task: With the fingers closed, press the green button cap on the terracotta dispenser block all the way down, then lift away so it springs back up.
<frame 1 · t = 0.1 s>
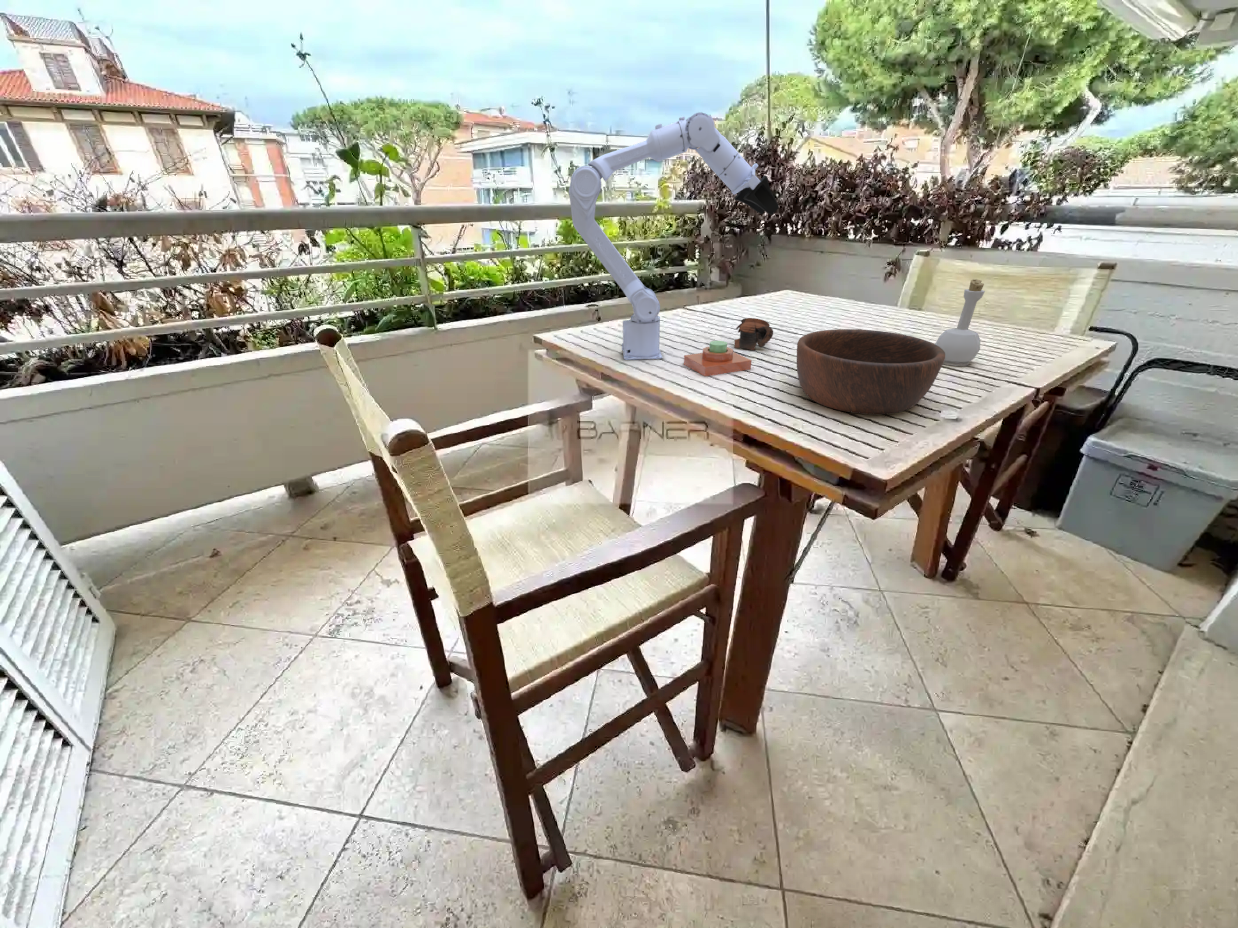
hand: (769, 211, 107), 32 cm above the table, tool tilted 50°, fingers open, 7 cm apart
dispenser: (716, 366, 113), on the table
wooden bowl: (856, 397, 95), on the table
potion bottle: (951, 362, 113), on the table
green button cap: (718, 347, 111), point 5 cm above the table, slide at 0.1 cm
pottery mug: (753, 347, 127), on the table
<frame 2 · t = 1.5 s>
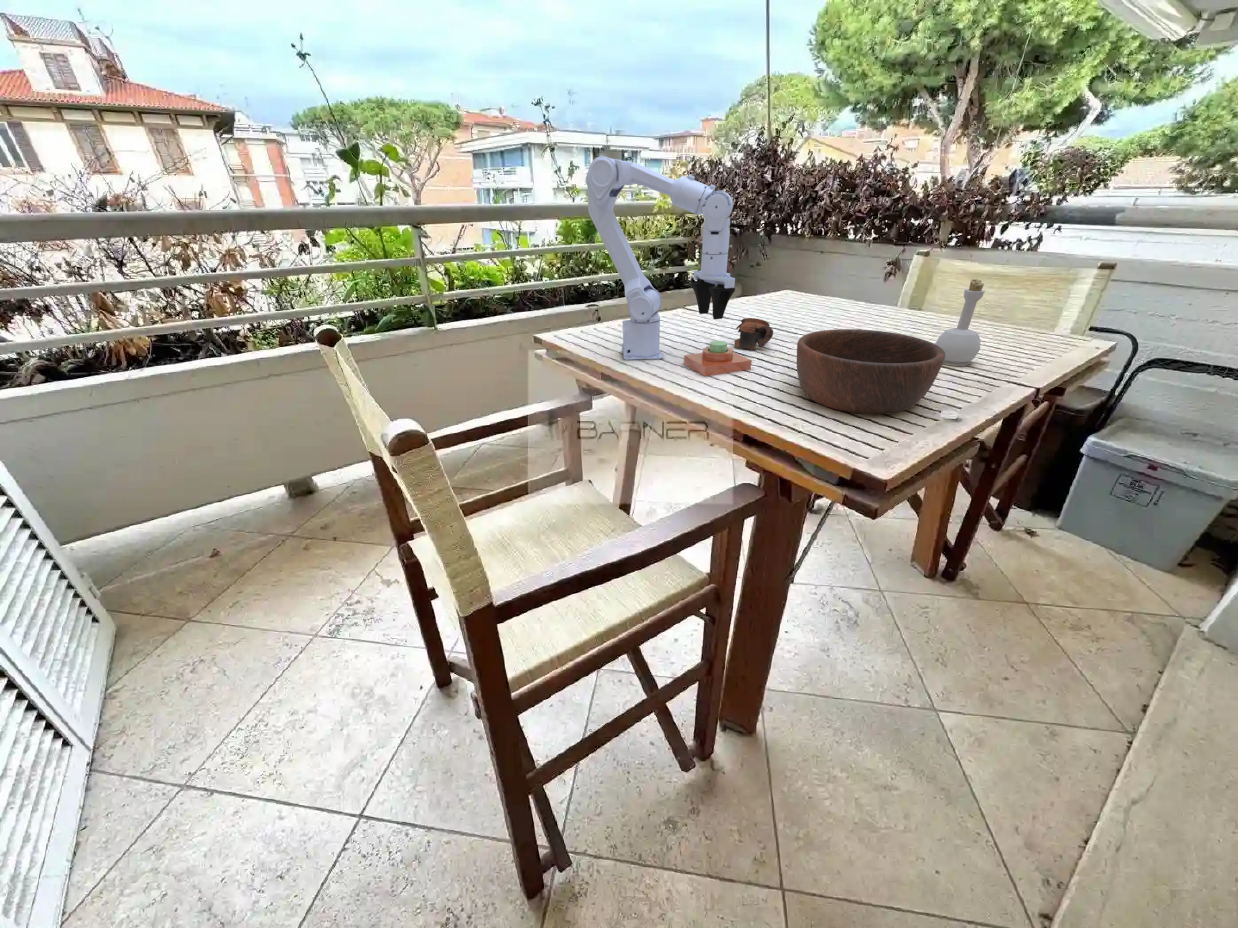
hand: (710, 316, 113), 10 cm above the table, tool pointing down, fingers open, 6 cm apart
nothing on the table moved.
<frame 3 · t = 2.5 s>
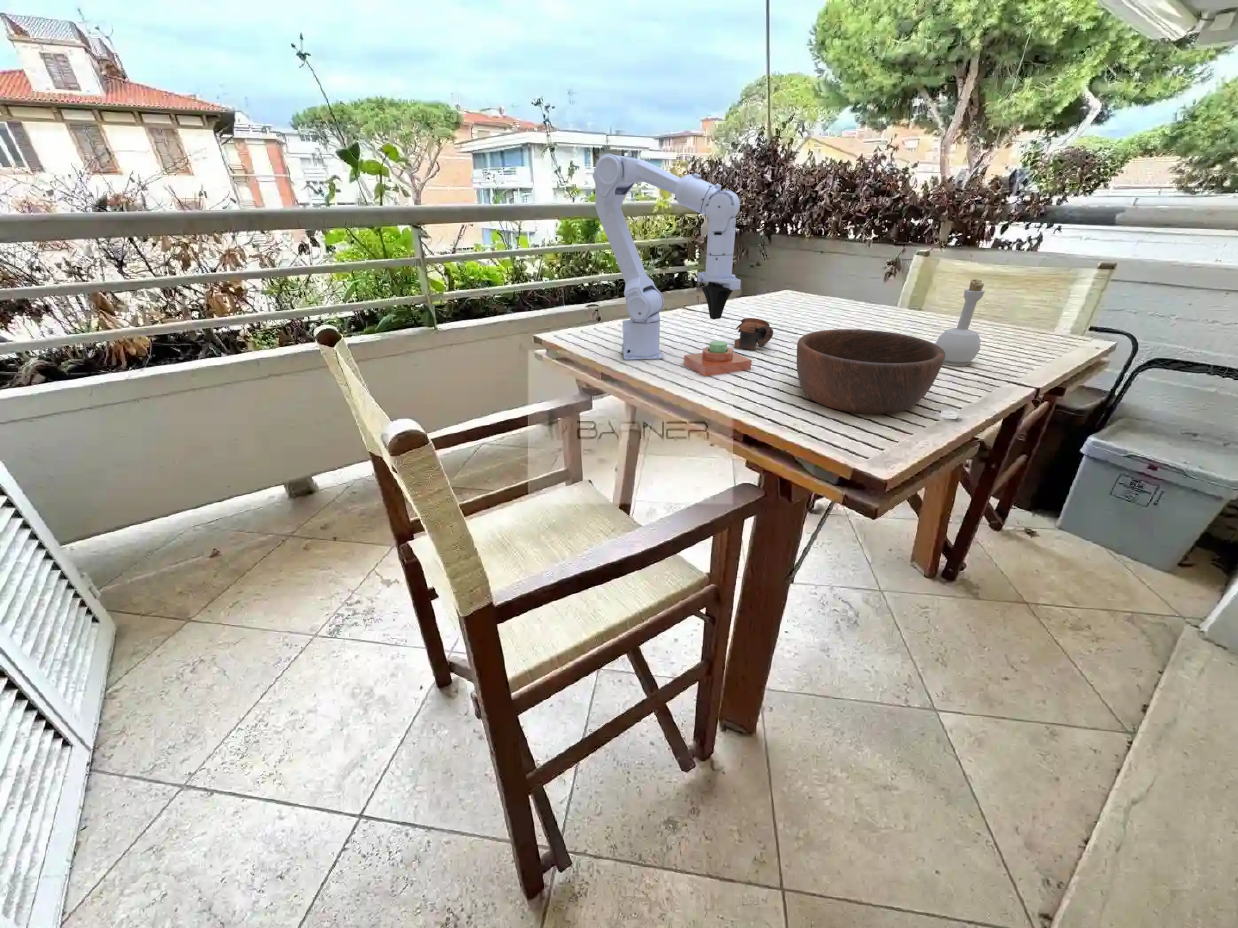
hand: (715, 318, 111), 10 cm above the table, tool pointing down, fingers closed
nothing on the table moved.
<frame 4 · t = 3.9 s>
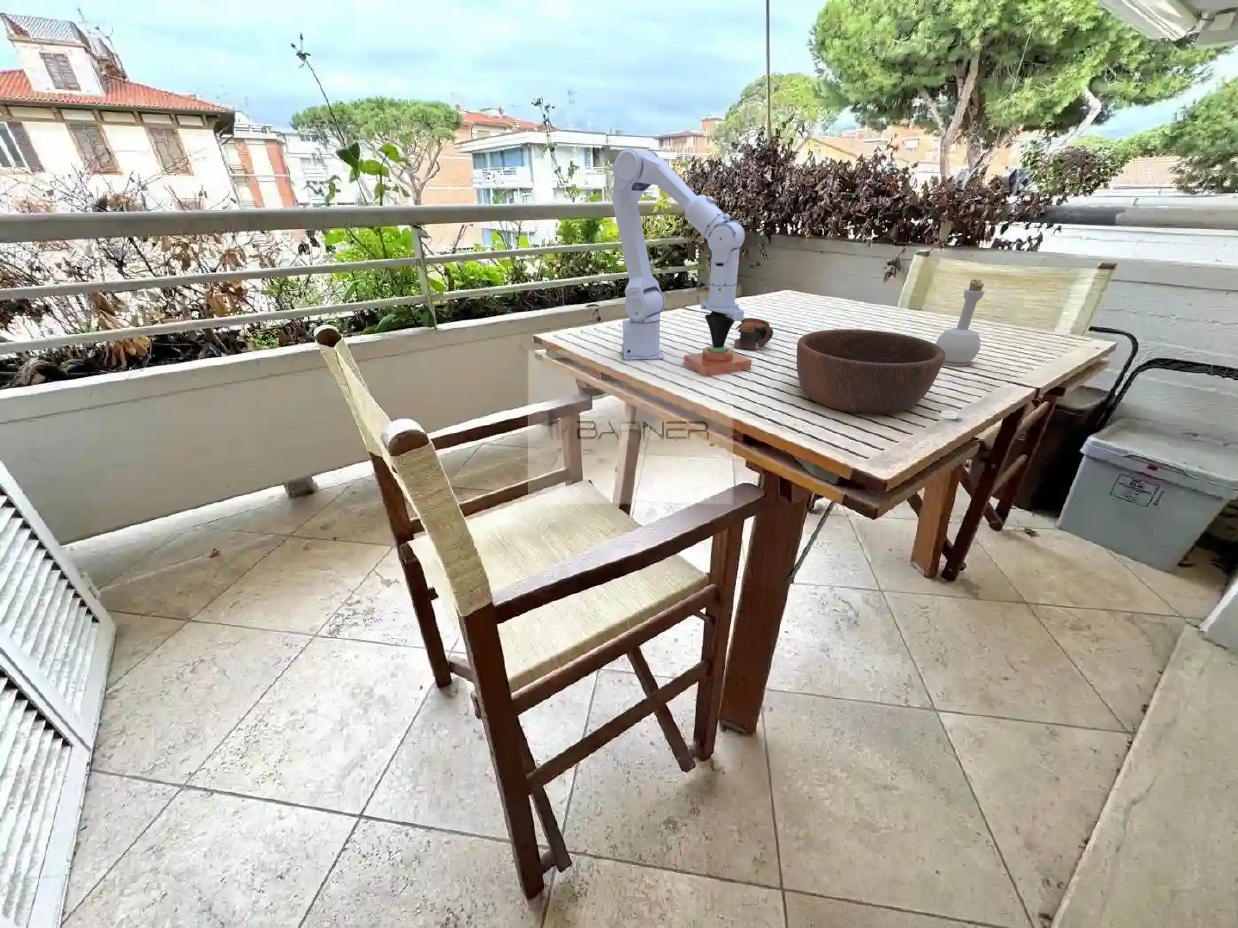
hand: (718, 346, 111), 5 cm above the table, tool pointing down, fingers closed, pressing on green button cap
green button cap: (717, 350, 111), point 4 cm above the table, slide at -0.7 cm, touching gripper
everything else where it was.
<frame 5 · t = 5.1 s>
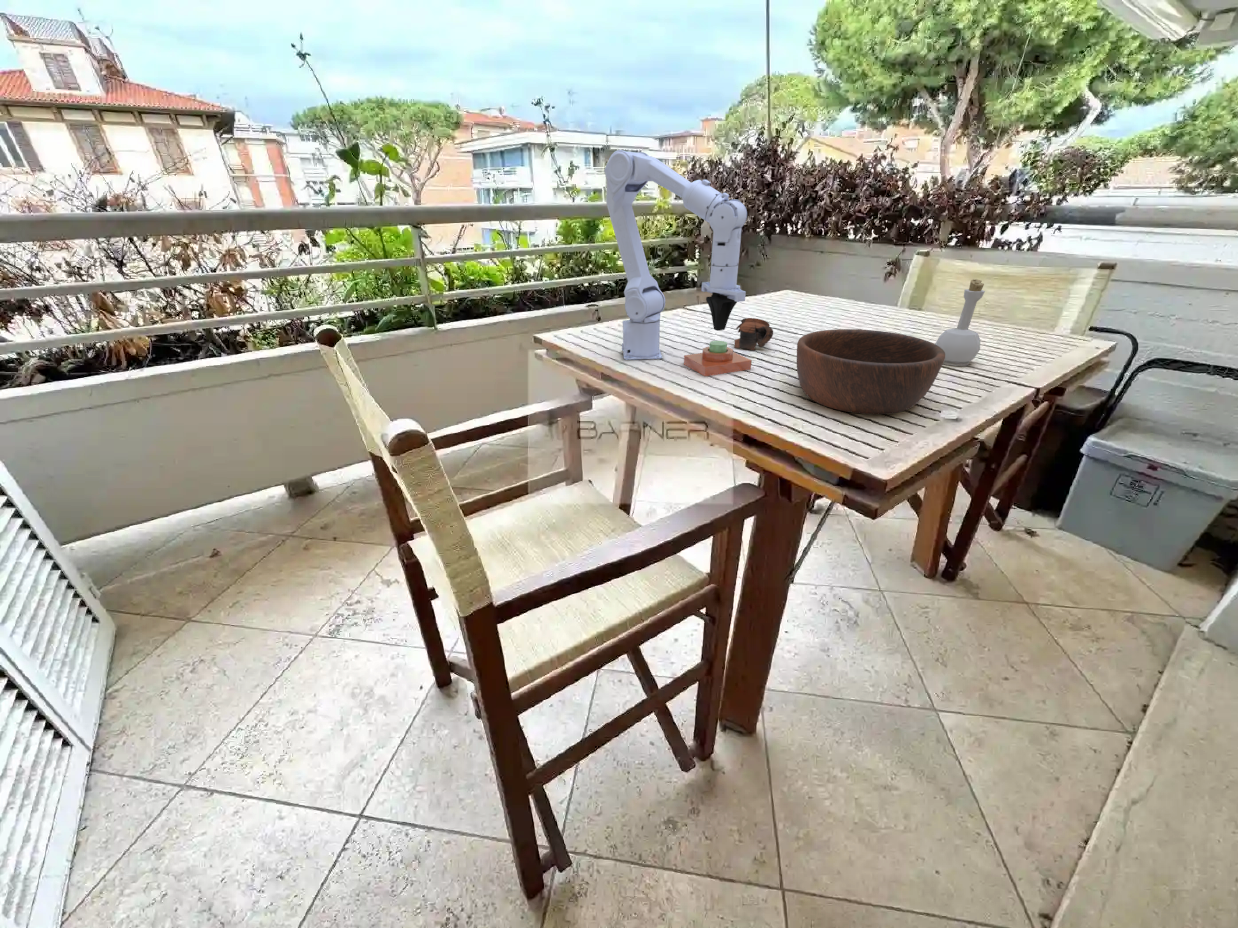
hand: (719, 329, 109), 9 cm above the table, tool pointing down, fingers closed
green button cap: (718, 347, 111), point 5 cm above the table, slide at 0.1 cm
everything else where it was.
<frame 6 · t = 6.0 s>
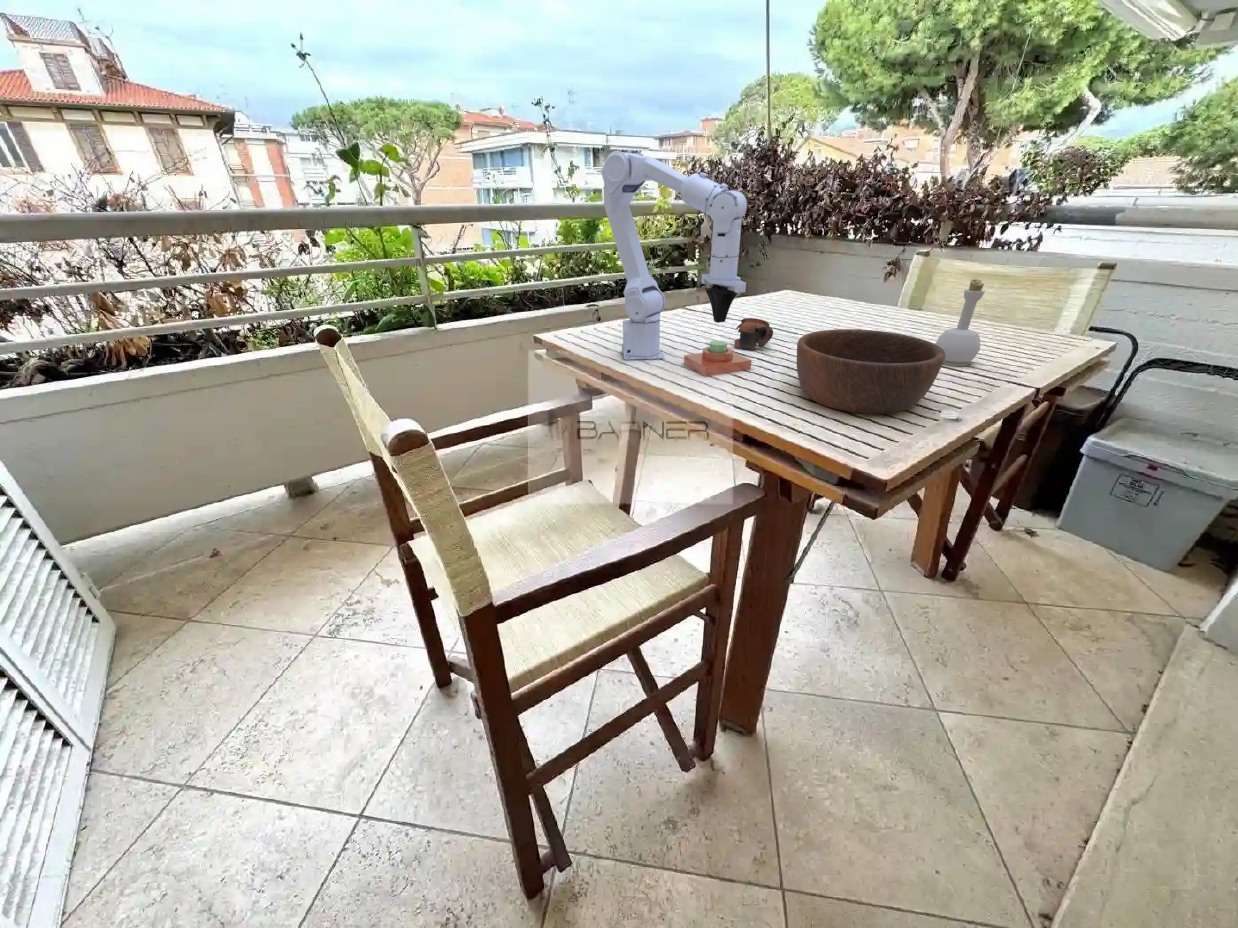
hand: (719, 321, 108), 10 cm above the table, tool pointing down, fingers closed
nothing on the table moved.
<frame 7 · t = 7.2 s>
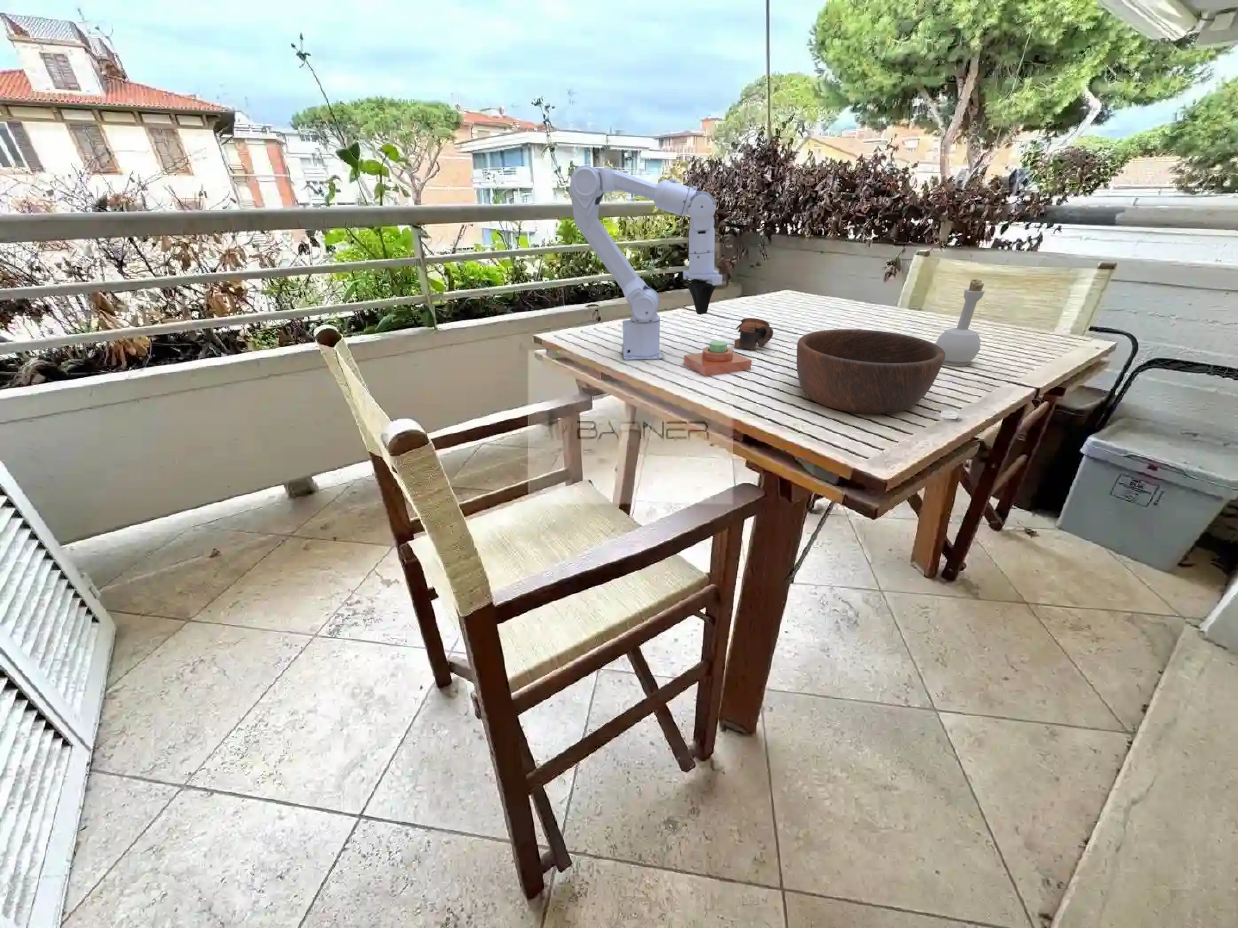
hand: (701, 313, 116), 10 cm above the table, tool pointing down, fingers closed
nothing on the table moved.
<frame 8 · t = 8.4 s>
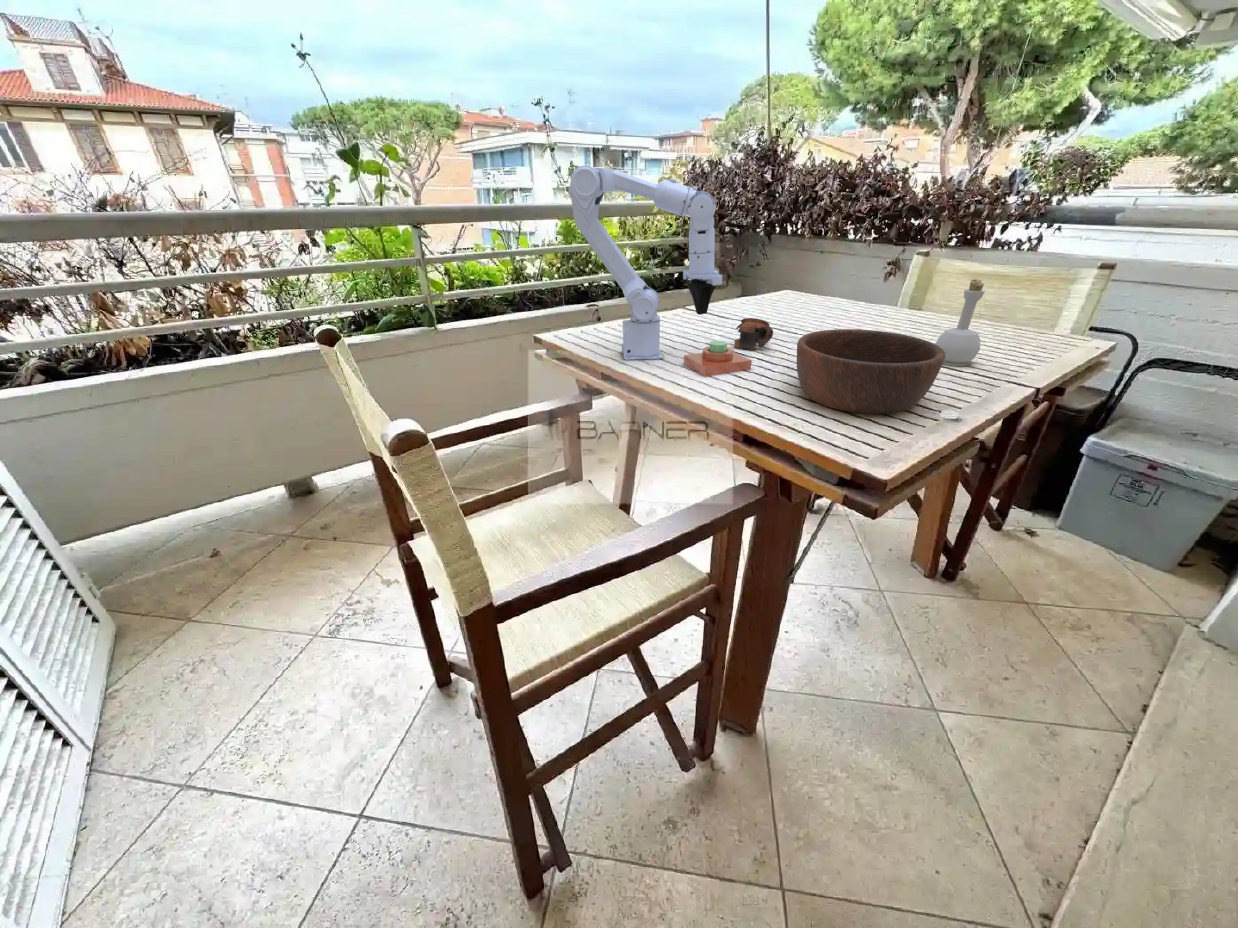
hand: (701, 313, 116), 10 cm above the table, tool pointing down, fingers closed
nothing on the table moved.
at the end: green button cap pushed in 1.2 cm at the most during the clip, back to where it started at the end; green button cap slide at 0.1 cm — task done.
